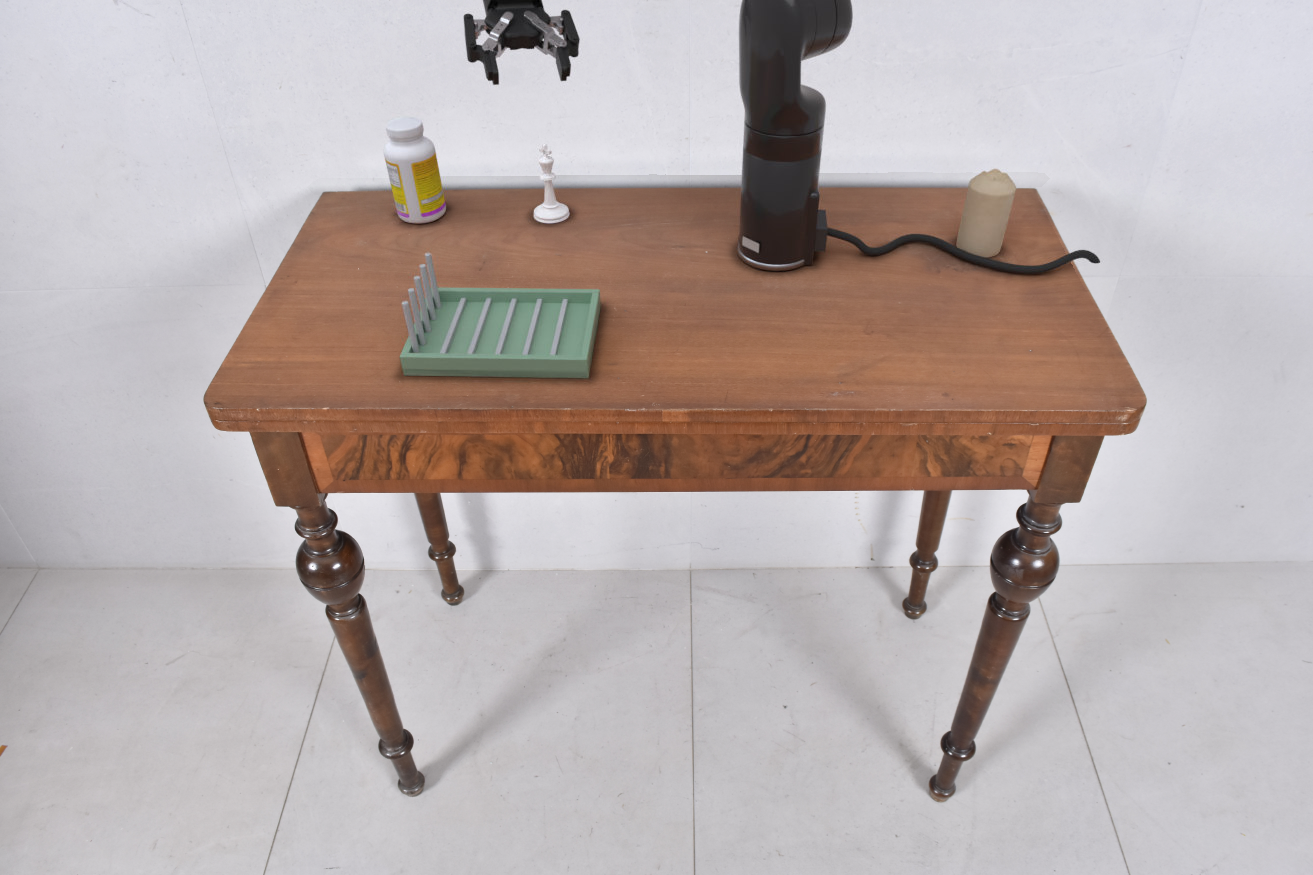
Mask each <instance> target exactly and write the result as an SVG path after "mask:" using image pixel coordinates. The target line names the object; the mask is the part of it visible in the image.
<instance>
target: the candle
mask: <svg viewBox="0 0 1313 875" xmlns="http://www.w3.org/2000/svg"><path fill="white" fill-rule="evenodd" d="M1016 191H1017V185H1016V184H1015V182H1014V181H1013V179H1011V177H1010V176H1009V174H1008V173H1007V172H1002V171H1001V170H1000V169H998V168H993V169H991V170H989V171H985V170H983V171H981V172H980V173H979V174H976V175H975V176H974V177H972V178H971V179H970V180H969V181H968V187H967V192H966V196H965V201H964V205H963V209H962V215H961V219H960V224H959V228H958V233H957V239H956V243H955V244H956V247H957V248H959V249H962V250H964V251H966V252H969V253H971V254H975V255H978V256H982V257H985V258H993V257H995V256H997V255H999V253H1000V252H1001V249H1002V246H1003V242H1004V238H1005V235H1006V231H1007V227H1008V224H1009V219H1010V214H1011V210H1012V208H1013V202H1014V199H1015V195H1016Z"/></svg>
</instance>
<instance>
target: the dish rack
mask: <svg viewBox="0 0 1313 875" xmlns="http://www.w3.org/2000/svg"><path fill="white" fill-rule="evenodd" d="M424 258H425V263H426V264H425V263H421V264H419V266H418V267H419V272H420V275H415V276H414V277H413V281H414V287H415V288H414V287H410V288H408V289H407V293H408V298H409V301H408V300H404V301H402V302H401V307H402V311H403V315H404V320H405V324H406V328H407V332H408V336H407V339H406V341H405V344H404V346H403V348H402V350H401V353H400V355H399V361H400V366H401V368H402V372H403V373H402V374H403V376H417V377H418V376H419V377H426V376H427V377H473V378H475V377H478V378H479V377H480V378H481V377H484V378H535V379H536V378H541V379H542V378H544V379H546V378H547V379H589V377H590V372H591V365H592V360H593V354H594V350H595V343H596V339H597V338H596V337H597V331H598V327H599V320H600V316H601V315H600V314H601V309H602V303H601V290H600V288H536V287H535V288H531V287H529V288H528V287H527V288H525V287H520V288H519V287H445V286H443V287H442V286H441V287H438V282H437V277H436V272H435V267H434V262H433V256H432V253H431V252H425V253H424ZM409 302H410V303H409ZM410 307H411V308H410ZM411 311H412V312H411Z"/></svg>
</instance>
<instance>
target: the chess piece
mask: <svg viewBox="0 0 1313 875" xmlns="http://www.w3.org/2000/svg"><path fill="white" fill-rule="evenodd" d="M538 152H539V153H542V156H541V157H539V158H538V163H539V165H540V167H541V171H542V173H540V174H539V180H541V181H544V197H543V202H542V203H540V204H539V205H537V206H536V207H535V208H534V209H533V218H534V220H535V221H536V222H540V223H542V224H558V223H561V222H564V221H565V220H568V218H569V217H570V214H571V213H570V210H569V206H567V204H564V203H562V202H559V201H558V200H557V198H556V192H555V188H554V185H553V181H554V180H555V179H556V178H557V176H556V173H554V172H552V170H553V166H554V163H555V159H554V157H553V156H551V155H552V154H553V152H552V149H548V144H545V143H544V144H542V147H540V148H538Z"/></svg>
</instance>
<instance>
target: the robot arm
mask: <svg viewBox="0 0 1313 875" xmlns="http://www.w3.org/2000/svg"><path fill="white" fill-rule="evenodd" d="M482 2H483V8H484V12H485V18H484V19H477V18H476V19H475V18H474V15H473V14H471V13H464V15H463V31H464V32H463V33H464V42H465V49H466V58H467V62H469V63H471V64H474V63H476V62H477V61H478V62H480V63H482V64H483V69H484V73H485V78H486V79H487V81H488V82H492V86H499V85H500V72H499V67H498V61H497V58H500V57H501V56H502V55H503V54H504V53H505V51H506V50H507V49H509V50H510V51H516V50H520V49H524V50H534V49H537V50H538V51H539V52H541V53H542V54H544V55H546V56H548V55H549V56H551V57H552V58H554V59H555V65H556V69H557V72H558V76H559V80H560V82H567V79H568V77H571V71H572V70H571V69H572V63H571V59H570V57H571V58H578V57H579V52H580V50H579V48H580V40H581V39H580V36H579V32H578V30H577V28H576V25H575V21H574V19H573V16H572V14H571V11H570V10H569V9H563V10H561V11H560V15H553V16H551V15H549V13H547V12H546V10H545V7H544V4H543V0H482ZM852 4H853V3H852V0H741V4H740V9H739V10H740V11H739V15H738V17H739V18H738V84H739V93H740V97H741V101H742V104H743V109H744V116H743V117H744V119H743V143H742V144H743V145H742V162H741V163H742V164H741V183H740V184H741V186H740V187H741V188H740V204H739V205H740V206H739V209H740V210H739V232H738V242H737V255H738V258H740V260H741V261H742V262H744V263H745V264H746V265H748V266H751V267H753V268H756V269H759V270H764V271H770V272H783V271H791V270H795V269H798V268H800V267H802V266H812V265H813V263H814V255H815V252H816V253H817V252H818V253H819V252H820V253H825V252H826V250H827V240H828V237H831V238H834V239H839V240H841V241H844V242H847V243H850V244H852V245H853V246H854V247H856V248H857V249H858V250H859V251H860V252H861V253H863V254H864V255H867V256H875V257H877V256H882V255H884V254H887V253H889V252H891V251H893V250H894V249H896V248H898V247H899V246H901V245H904V244H907V243H912V242H913V243H915V242H917V243H924V244H930V245H932V246H935V247H938V248H940V249H942V250H944V251H945V252H948V253H950V254H951V255H953V256H955V257H956V258H959V259H961V260H964V261H966V262H970V263H972V264H976V265H980V266H983V267H988V268H990V269H994V270H997V271H1003V272H1008V273H1013V274H1014V273H1015V274H1023V275H1036V274H1037V275H1038V274H1043V273H1047V272H1050V271H1053V270H1056V269H1059V268H1061V267H1062V266H1066V264H1069V263H1070V262H1073V261H1075V260H1079V259H1086V260H1088V261H1089V262H1090V263H1092V264H1100V263H1101V260H1100V258H1099V257H1098V255H1097V254H1096V253H1094V252H1092V251H1091V250H1087V249H1077V250H1074V251H1072V252H1070V253H1069V252H1068V253H1067V254H1065V255H1063V256H1061V257H1059V258H1057V259H1054V260H1052V261H1050V262H1046V263H1043V264H1037V265H1035V264H1034V265H1024V264H1015V263H1009V262H1004V261H1000V260H996V259H993V258H990V257H987V258H985V257H982V256H978V255H975V254H971V253H969V252H966V251H964V250H962V249H959V248H957V245H956V246H955V245H953V244H952V243H949V241H946V240H944V239H942V238H939V237H937V236H934V235H931V234H924V233H909V234H905V235H901V236H899V237H897V238H895V239H893V240H892V241H890V242H888V243H886V244H885V245H881V246H877V247H876V246H875V247H873V246H869V245H867V244H866V243H865V242H864V241H863V240H862V239H860V238H859V237H858V236H855V235H853V234H851V233H848V232H846V231H842V230H839V229H835V228H833V227H829V226H828V220H827V211H826V209H819V207H820V197H821V194H820V188H819V180H820V172H821V171H820V170H821V160H822V150H823V140H824V131H825V123H826V112H827V101H826V97H825V96H824V95H823V93H822V92H820V91H819V90H817V89H816V88H813V87H811V86H808V85H805V84H802V62H803V61H805V60H809V59H812V58H815V57H818V56H821V55H824V54H826V53H829V52H832V51H834V50H835V49H837V48H838V47H840V46H841V45H842V44H844V42H846V40H847V39H848V37H849V35H850V33H851V29H852V26H853V19H854V15H853V14H854V13H853V12H854V11H853V5H852ZM555 30H556V31H557V32H558V34H557V33H556V31H555ZM484 31H485V33H486V34H487V35H488V37H487V39H486V40H485V41H484V42H483V43H482V45H481V44H478V43H477V40H478V39H479V37H480V36H481V35H482V32H484ZM561 36H562V37H561Z"/></svg>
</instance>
